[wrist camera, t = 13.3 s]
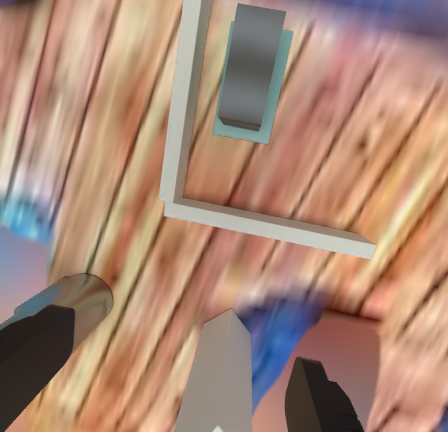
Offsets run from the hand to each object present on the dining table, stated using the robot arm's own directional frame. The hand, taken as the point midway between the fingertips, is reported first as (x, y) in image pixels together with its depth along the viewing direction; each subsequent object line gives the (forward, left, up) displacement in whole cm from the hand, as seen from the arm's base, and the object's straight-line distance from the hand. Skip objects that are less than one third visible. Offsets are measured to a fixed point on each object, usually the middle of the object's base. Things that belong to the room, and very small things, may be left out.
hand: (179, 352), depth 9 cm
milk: (+3, -21, -30) cm, 37 cm away
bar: (-1, +16, -29) cm, 33 cm away
